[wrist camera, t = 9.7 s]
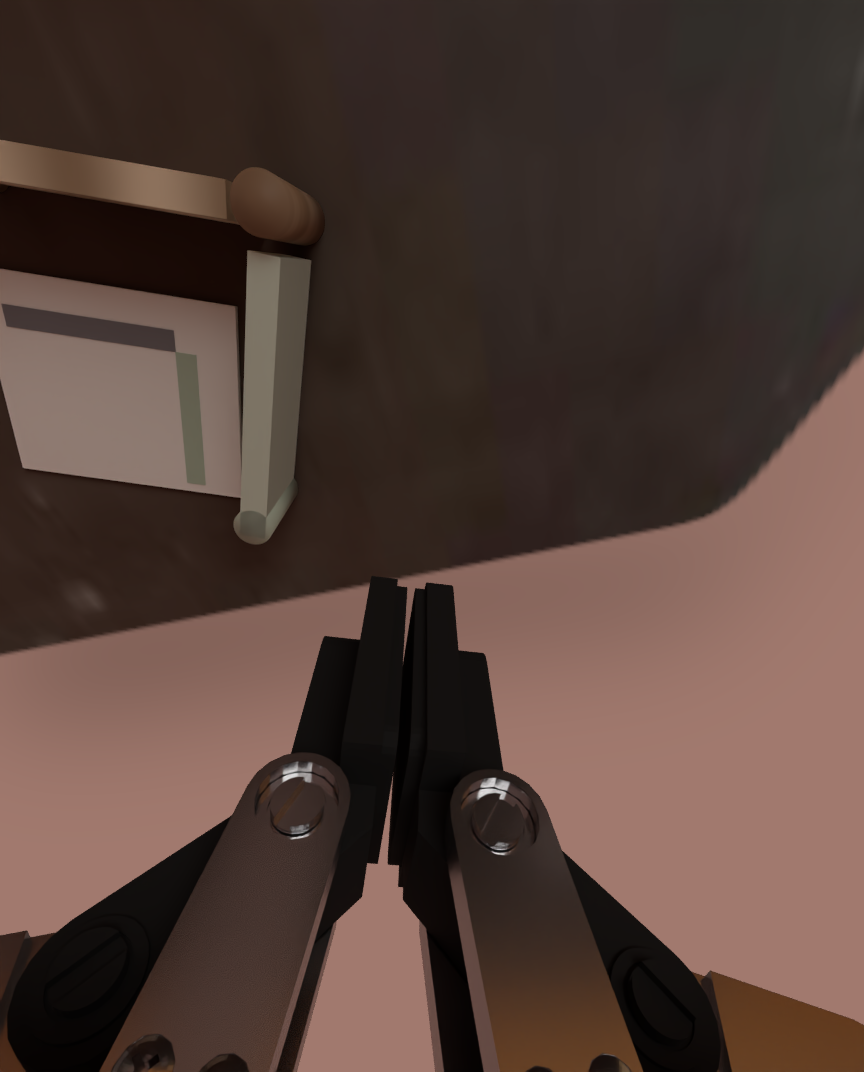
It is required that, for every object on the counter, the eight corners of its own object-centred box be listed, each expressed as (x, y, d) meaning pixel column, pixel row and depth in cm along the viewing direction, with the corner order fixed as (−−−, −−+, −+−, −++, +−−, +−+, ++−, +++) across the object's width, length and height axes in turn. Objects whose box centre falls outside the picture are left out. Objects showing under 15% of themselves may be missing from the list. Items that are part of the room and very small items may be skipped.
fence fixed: (-32, 189, 22) (-183, 163, 16) (-45, 131, 21) (-211, 84, 15) (323, 248, 23) (289, 242, 17) (325, 196, 22) (290, 173, 16)
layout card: (26, 466, 28) (22, 468, 27) (-24, 264, 23) (-31, 264, 23) (243, 495, 28) (241, 498, 28) (237, 306, 24) (234, 306, 24)
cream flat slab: (278, 252, 22) (239, 247, 18) (317, 261, 23) (288, 259, 18) (265, 498, 28) (233, 540, 24) (297, 504, 28) (270, 547, 24)
